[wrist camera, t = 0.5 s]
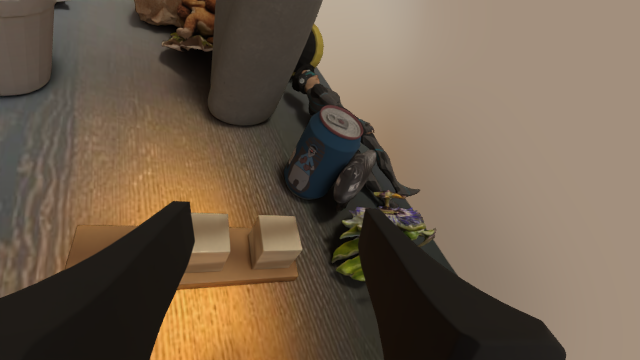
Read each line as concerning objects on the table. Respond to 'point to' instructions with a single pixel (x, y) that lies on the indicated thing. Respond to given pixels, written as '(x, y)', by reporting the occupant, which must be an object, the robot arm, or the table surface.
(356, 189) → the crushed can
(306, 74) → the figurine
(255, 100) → the vase
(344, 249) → the passion flower
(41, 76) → the potted plant
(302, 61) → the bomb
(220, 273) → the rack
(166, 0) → the stone
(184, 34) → the bear figurine
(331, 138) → the soda can
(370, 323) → the table surface
